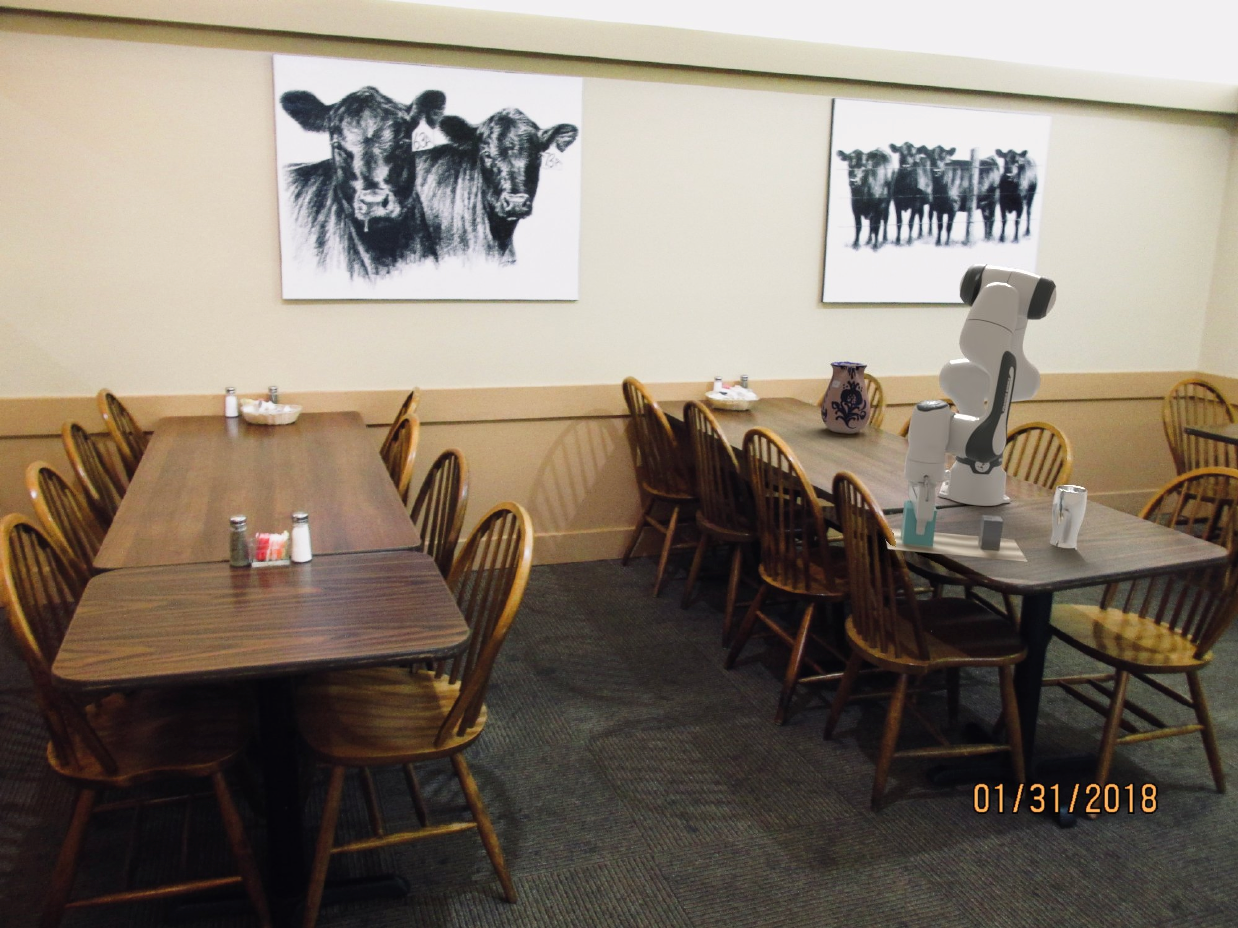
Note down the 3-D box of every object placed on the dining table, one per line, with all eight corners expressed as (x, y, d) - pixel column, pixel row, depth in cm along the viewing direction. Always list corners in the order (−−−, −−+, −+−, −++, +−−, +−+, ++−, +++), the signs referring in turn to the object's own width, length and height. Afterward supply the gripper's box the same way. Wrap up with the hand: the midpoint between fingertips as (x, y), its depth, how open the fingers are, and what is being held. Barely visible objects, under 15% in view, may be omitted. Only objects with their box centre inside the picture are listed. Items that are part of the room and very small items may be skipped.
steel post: (978, 543, 222) (981, 515, 220) (996, 545, 221) (999, 516, 219) (980, 549, 218) (984, 520, 216) (999, 550, 217) (1003, 521, 215)
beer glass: (1063, 556, 220) (1073, 493, 216) (1039, 546, 226) (1048, 486, 222) (1085, 553, 222) (1095, 491, 219) (1061, 543, 228) (1070, 483, 225)
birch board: (882, 533, 232) (883, 527, 231) (1013, 545, 226) (1013, 539, 226) (887, 554, 216) (887, 548, 216) (1026, 568, 211) (1027, 561, 210)
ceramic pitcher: (827, 436, 340) (833, 366, 334) (811, 424, 360) (816, 358, 354) (875, 437, 342) (882, 368, 335) (856, 425, 362) (862, 359, 356)
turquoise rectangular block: (900, 535, 226) (904, 500, 224) (929, 537, 225) (933, 502, 223) (903, 543, 220) (906, 508, 218) (932, 546, 219) (937, 510, 217)
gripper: (944, 483, 208) (937, 543, 211) (933, 462, 227) (927, 517, 231) (914, 481, 209) (907, 541, 212) (906, 459, 228) (900, 515, 232)
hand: (917, 528), depth 222 cm, fingers closed on turquoise rectangular block, 7 cm apart
